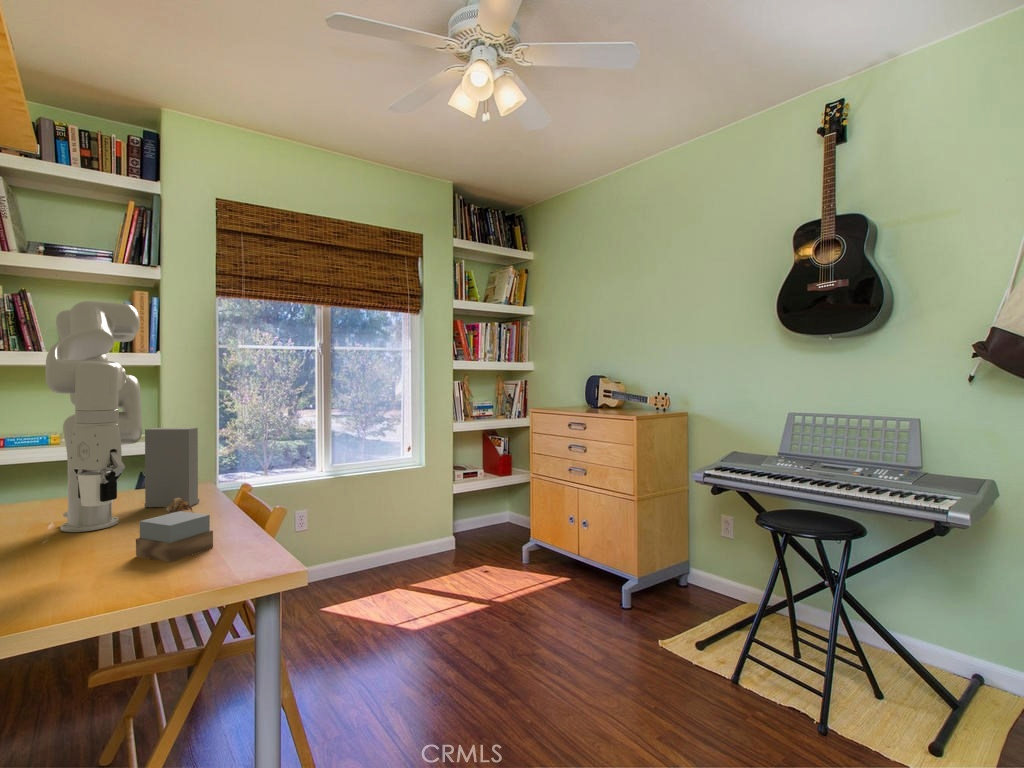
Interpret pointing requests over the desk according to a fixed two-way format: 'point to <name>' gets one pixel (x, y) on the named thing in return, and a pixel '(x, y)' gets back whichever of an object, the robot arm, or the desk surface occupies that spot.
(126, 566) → the desk surface
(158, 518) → the top block
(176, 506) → the lion figurine
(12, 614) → the desk surface
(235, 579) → the desk surface
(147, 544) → the base block
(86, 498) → the beige cup
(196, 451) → the tall grey upright box
